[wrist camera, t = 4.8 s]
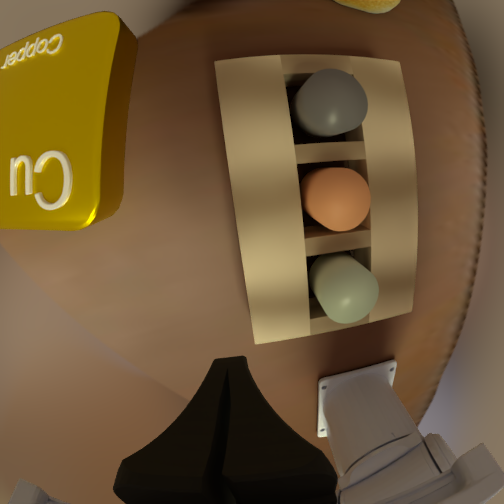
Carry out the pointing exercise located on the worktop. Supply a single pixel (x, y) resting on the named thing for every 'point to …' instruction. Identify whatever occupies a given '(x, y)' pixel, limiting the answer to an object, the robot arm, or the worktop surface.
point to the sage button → (343, 287)
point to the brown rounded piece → (335, 197)
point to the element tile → (65, 123)
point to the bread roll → (370, 5)
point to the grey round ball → (329, 104)
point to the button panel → (288, 193)
